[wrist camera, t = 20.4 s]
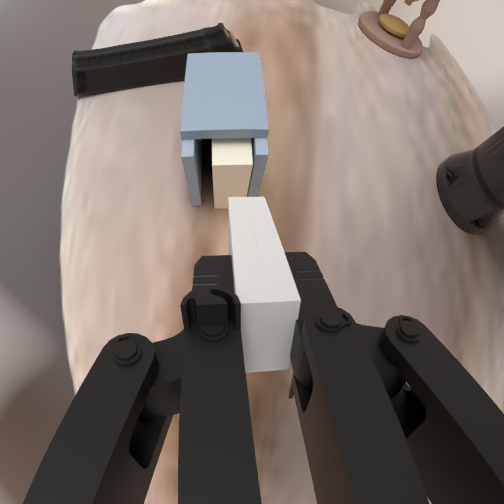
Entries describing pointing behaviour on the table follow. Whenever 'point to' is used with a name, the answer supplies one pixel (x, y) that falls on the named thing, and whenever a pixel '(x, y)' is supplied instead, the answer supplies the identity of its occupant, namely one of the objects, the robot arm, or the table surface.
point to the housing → (223, 111)
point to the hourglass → (396, 28)
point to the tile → (230, 169)
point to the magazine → (146, 60)
